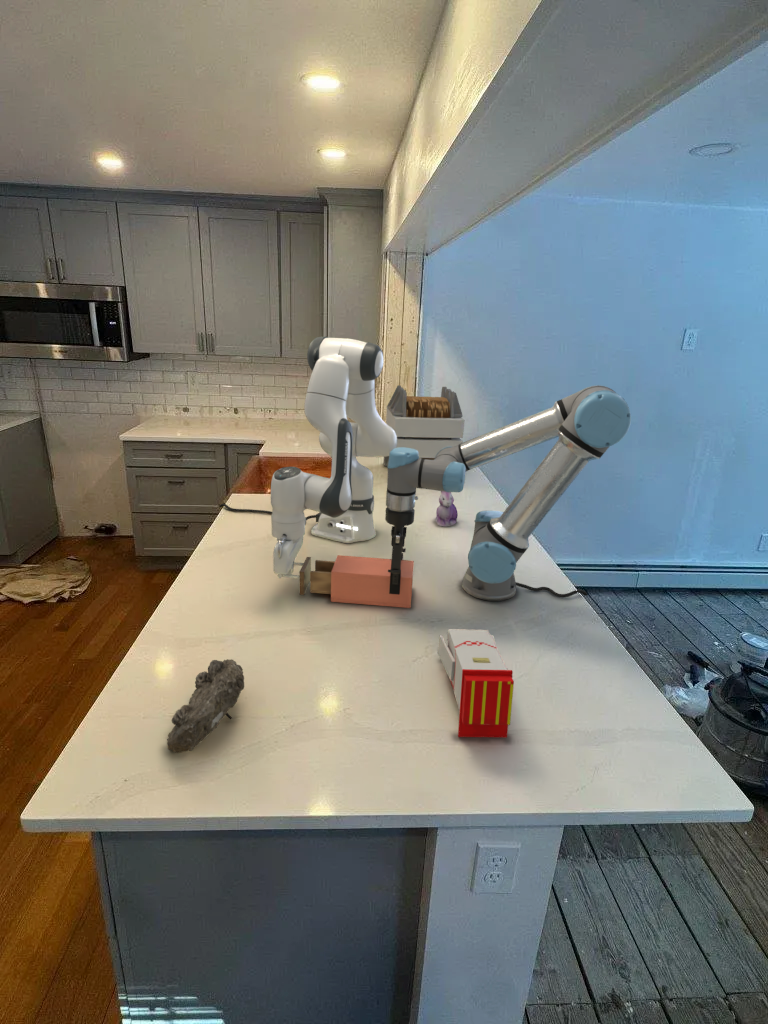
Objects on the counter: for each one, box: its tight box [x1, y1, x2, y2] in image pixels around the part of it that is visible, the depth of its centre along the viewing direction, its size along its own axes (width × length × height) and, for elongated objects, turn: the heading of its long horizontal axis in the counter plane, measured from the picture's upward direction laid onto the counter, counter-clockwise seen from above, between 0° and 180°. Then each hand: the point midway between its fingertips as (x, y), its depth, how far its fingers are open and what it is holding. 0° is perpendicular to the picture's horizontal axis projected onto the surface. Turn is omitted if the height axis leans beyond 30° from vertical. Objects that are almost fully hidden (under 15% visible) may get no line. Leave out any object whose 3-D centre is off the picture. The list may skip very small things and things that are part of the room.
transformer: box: [383, 384, 465, 468], centre depth 268 cm, size 34×33×41 cm
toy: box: [437, 628, 515, 738], centre depth 117 cm, size 12×13×30 cm
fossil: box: [166, 658, 245, 754], centre depth 106 cm, size 22×10×15 cm
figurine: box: [434, 491, 459, 527], centre depth 210 cm, size 9×10×15 cm
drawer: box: [277, 556, 336, 596], centre depth 155 cm, size 26×10×7 cm, turn 86°
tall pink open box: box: [330, 554, 415, 609], centre depth 155 cm, size 21×11×9 cm, turn 86°
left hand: (289, 574), depth 156 cm, fingers closed, pressing on drawer
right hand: (395, 583), depth 155 cm, fingers closed on tall pink open box, 11 cm apart
